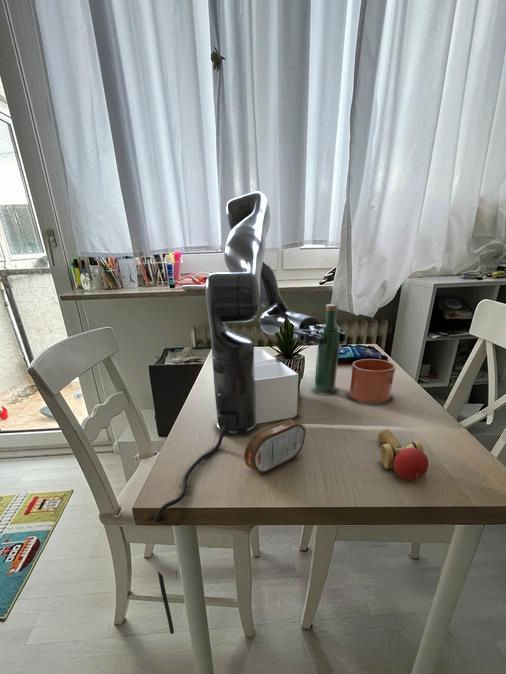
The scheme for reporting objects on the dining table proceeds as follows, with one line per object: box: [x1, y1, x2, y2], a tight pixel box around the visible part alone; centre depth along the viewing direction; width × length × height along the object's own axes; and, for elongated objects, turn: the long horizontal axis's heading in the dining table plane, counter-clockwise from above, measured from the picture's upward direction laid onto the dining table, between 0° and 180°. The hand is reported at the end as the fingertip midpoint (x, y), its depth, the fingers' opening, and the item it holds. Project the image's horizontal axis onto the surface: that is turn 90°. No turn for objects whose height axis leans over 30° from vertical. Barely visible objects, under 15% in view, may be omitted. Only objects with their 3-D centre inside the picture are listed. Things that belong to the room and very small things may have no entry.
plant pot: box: [348, 358, 397, 404], centre depth 106 cm, size 11×11×9 cm
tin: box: [243, 418, 306, 474], centre depth 77 cm, size 15×3×8 cm, turn 131°
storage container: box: [254, 349, 299, 425], centre depth 104 cm, size 25×11×11 cm, turn 18°
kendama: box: [377, 428, 430, 482], centre depth 77 cm, size 8×6×18 cm
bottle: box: [314, 303, 341, 394], centre depth 107 cm, size 6×6×23 cm
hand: (334, 339), depth 104 cm, fingers closed on bottle, 6 cm apart
